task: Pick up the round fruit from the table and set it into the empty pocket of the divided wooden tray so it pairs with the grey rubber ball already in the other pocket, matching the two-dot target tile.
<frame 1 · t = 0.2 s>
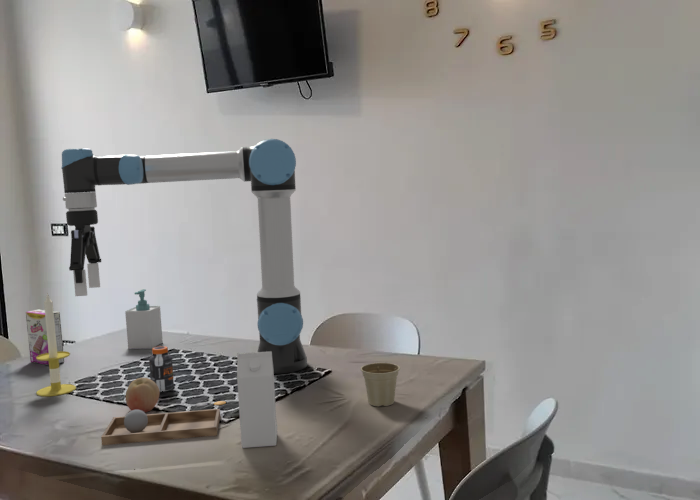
hand: (88, 291, 182), 28 cm above the table, fingers open, 13 cm apart
milk carton: (259, 442, 148), on the table
soap bottle: (145, 346, 239), on the table
fruit: (143, 412, 170), on the table
grey ball: (136, 432, 154), point 1 cm above the table, touching divided wooden tray
divided wooden tray: (164, 432, 155), on the table
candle: (56, 391, 190), on the table
target tile: (210, 406, 172), on the table
pill bottle: (162, 389, 188), on the table
flower pot: (381, 403, 169), on the table
candy bar box: (47, 363, 222), on the table
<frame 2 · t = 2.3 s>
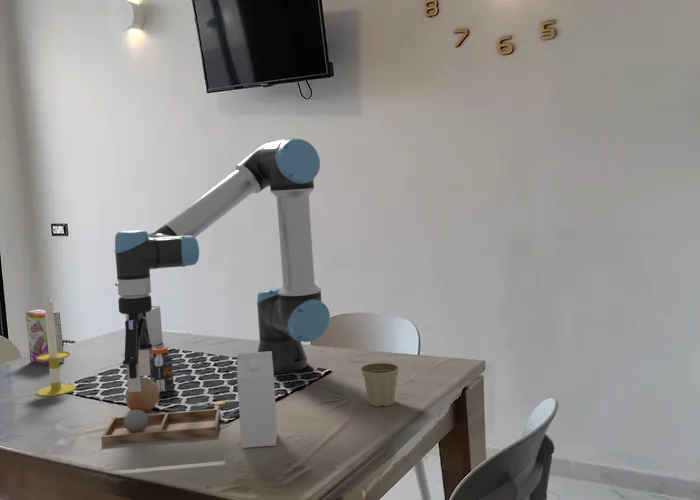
hand: (139, 383, 169), 7 cm above the table, fingers open, 13 cm apart
nothing on the table moved.
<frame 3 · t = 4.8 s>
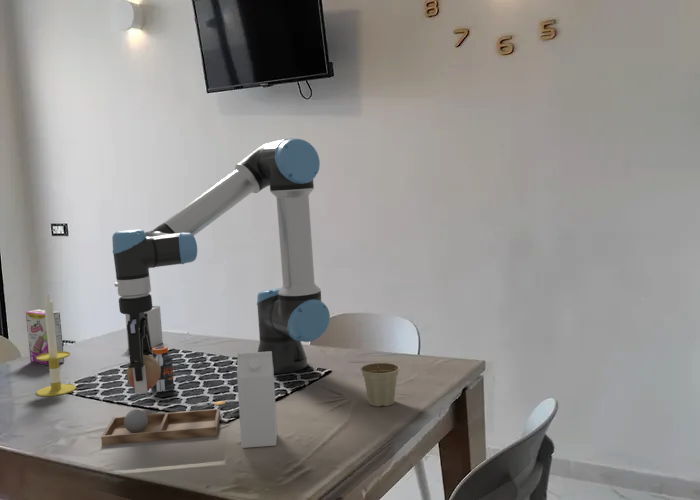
hand: (144, 387, 170), 6 cm above the table, fingers closed on fruit, 8 cm apart
fruit: (145, 389, 170), point 5 cm above the table, touching gripper
everything else where it was.
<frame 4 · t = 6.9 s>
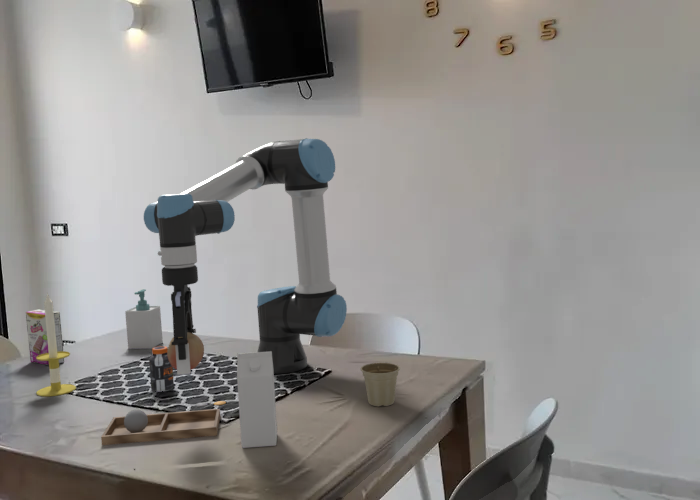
hand: (186, 368, 154), 14 cm above the table, fingers closed on fruit, 8 cm apart
fruit: (187, 370, 154), point 14 cm above the table, touching gripper
everything else where it was.
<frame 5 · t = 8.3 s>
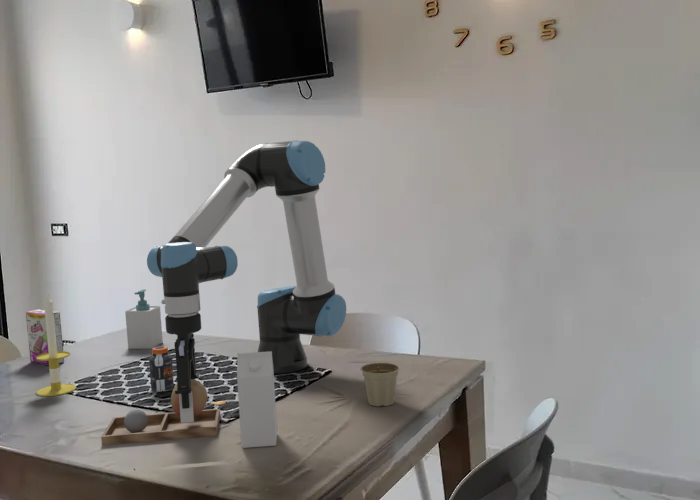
hand: (189, 414, 155), 4 cm above the table, fingers closed on fruit, 8 cm apart
fruit: (190, 417, 155), point 3 cm above the table, touching gripper
everything else where it was.
when the fingers open (3 cm above the table, at t = 9.3 s): fruit drops 2 cm, resting on divided wooden tray.
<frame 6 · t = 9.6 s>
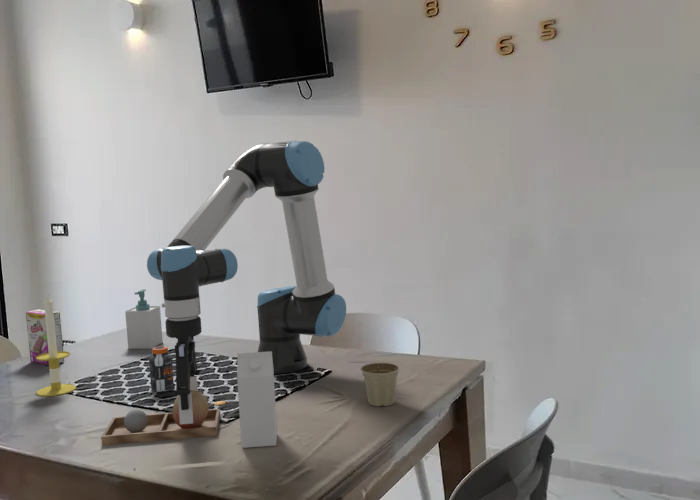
hand: (189, 413, 155), 4 cm above the table, fingers open, 12 cm apart
fruit: (191, 428, 156), resting on divided wooden tray
everything else where it was.
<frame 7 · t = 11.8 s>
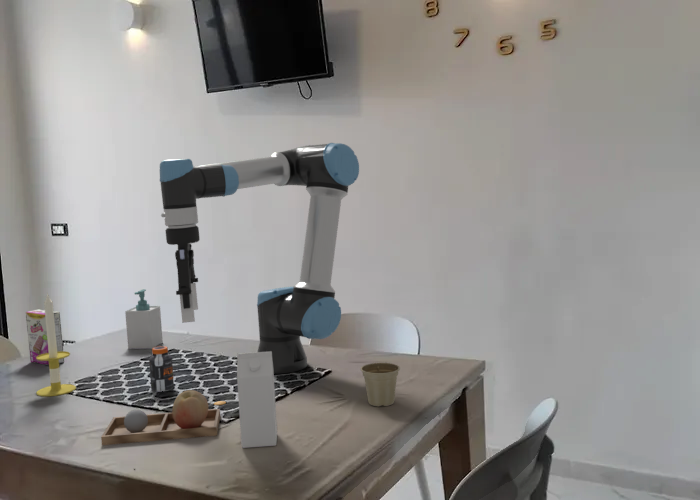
hand: (190, 315, 166), 23 cm above the table, fingers open, 13 cm apart
nothing on the table moved.
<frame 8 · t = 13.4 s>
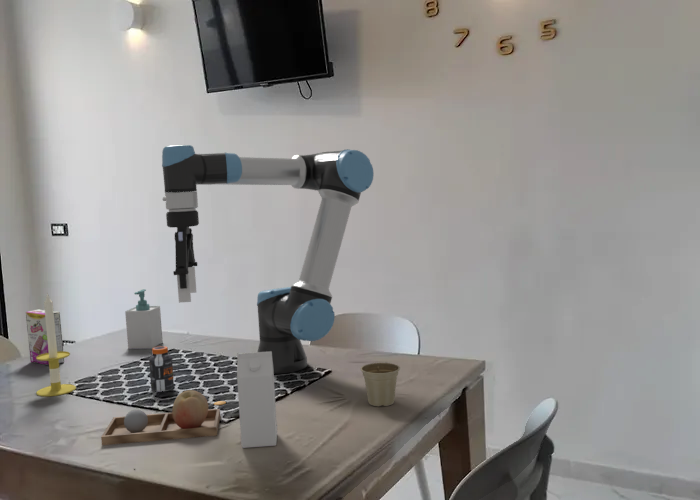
hand: (188, 297, 171), 27 cm above the table, fingers open, 13 cm apart
nothing on the table moved.
at the end: fruit inside the target area on the divided wooden tray (0.3 cm from its centre), point 0.4 cm above the divided wooden tray's base; grey ball inside the target area on the divided wooden tray (0.0 cm from its centre), point 0.6 cm above the divided wooden tray's base; the gripper is holding nothing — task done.
